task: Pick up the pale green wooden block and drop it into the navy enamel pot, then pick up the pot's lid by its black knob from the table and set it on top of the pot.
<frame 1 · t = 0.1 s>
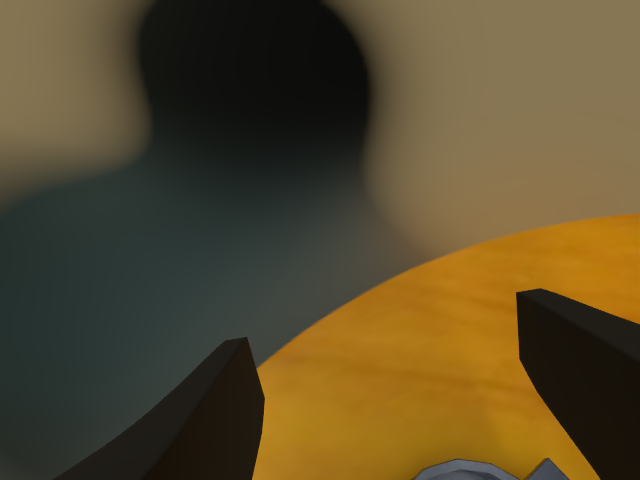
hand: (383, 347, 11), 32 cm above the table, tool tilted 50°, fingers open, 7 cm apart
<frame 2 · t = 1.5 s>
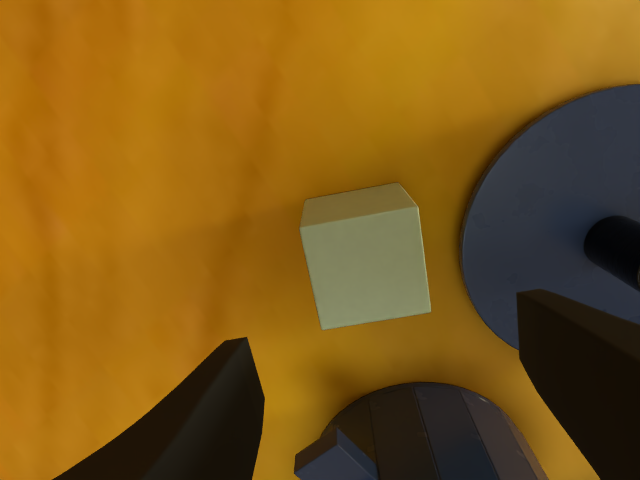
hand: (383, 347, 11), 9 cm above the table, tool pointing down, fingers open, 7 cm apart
block: (359, 235, 20), on the table
pot: (417, 469, 25), on the table
lid: (603, 237, 19), point 1 cm above the table
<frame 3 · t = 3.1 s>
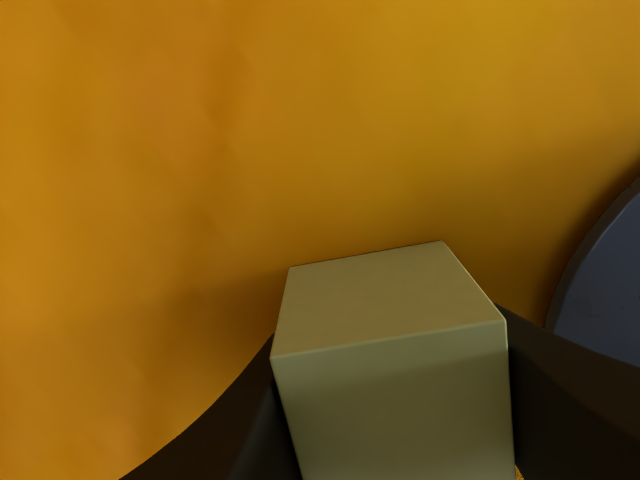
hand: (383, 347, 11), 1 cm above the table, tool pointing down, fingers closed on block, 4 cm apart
block: (376, 320, 13), on the table, touching gripper
when the fingers open (6 cm above the table, at t = 7.7 s): block drops 5 cm, resting on pot.
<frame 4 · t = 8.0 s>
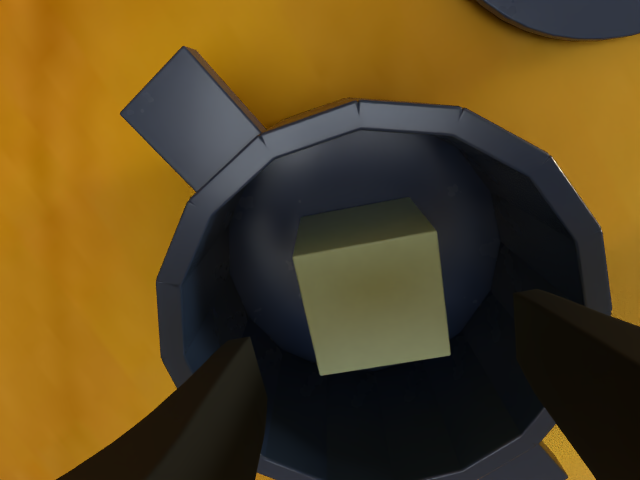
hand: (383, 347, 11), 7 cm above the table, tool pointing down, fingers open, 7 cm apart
block: (363, 257, 17), resting on pot
pot: (361, 253, 18), on the table
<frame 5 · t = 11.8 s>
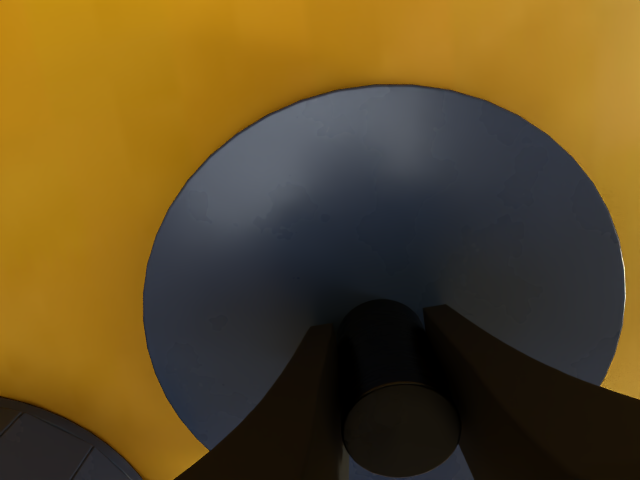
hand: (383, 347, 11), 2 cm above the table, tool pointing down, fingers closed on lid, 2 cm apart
lid: (378, 327, 12), point 1 cm above the table, touching gripper
when the fingers open (7 cm above the table, at t = 15.9 s): lid stays where it is, resting on pot.
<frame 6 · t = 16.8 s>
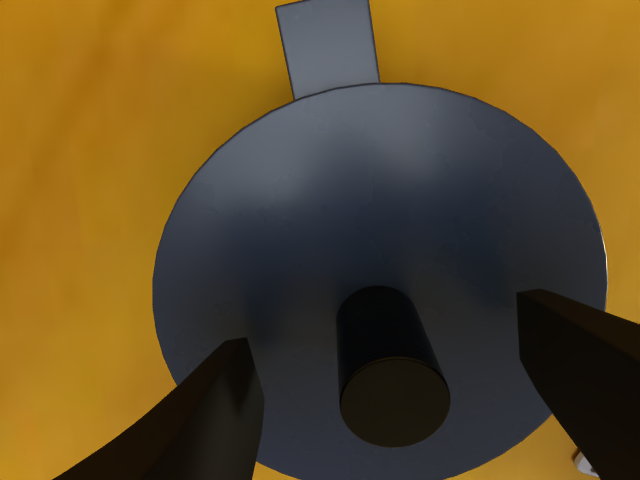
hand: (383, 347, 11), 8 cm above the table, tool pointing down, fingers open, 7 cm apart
pot: (360, 244, 19), on the table
lid: (374, 313, 13), point 6 cm above the table, touching pot
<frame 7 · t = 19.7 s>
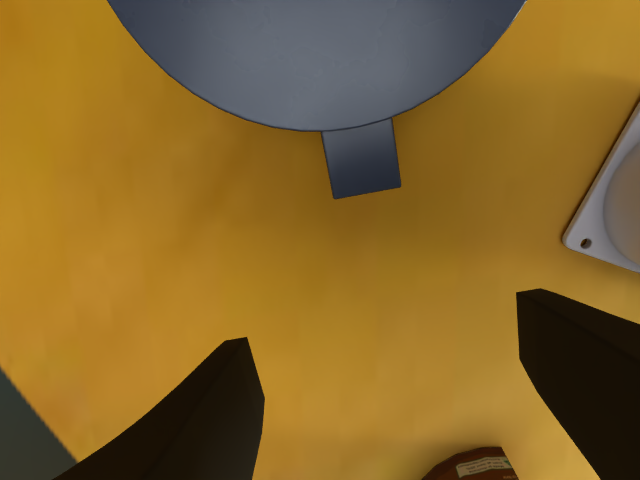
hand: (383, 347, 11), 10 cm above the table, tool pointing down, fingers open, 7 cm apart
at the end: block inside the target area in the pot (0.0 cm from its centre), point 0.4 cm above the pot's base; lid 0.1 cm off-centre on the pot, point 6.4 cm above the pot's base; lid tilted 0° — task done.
